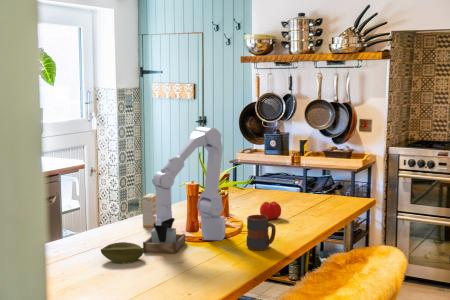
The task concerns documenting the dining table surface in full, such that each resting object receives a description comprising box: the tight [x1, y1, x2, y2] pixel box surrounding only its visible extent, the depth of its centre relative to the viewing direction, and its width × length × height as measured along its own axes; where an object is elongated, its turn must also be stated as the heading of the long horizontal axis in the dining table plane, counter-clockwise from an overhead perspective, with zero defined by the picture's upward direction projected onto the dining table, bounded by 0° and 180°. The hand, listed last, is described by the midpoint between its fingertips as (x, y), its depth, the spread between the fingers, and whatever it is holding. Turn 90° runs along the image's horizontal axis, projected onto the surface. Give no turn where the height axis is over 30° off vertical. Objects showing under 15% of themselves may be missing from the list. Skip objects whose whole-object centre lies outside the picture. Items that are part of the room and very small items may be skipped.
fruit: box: [100, 241, 145, 264], centre depth 208 cm, size 11×12×7 cm
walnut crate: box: [142, 233, 186, 255], centre depth 223 cm, size 12×13×4 cm
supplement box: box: [141, 193, 156, 228], centre depth 256 cm, size 8×5×13 cm, turn 168°
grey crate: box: [150, 227, 177, 244], centre depth 223 cm, size 8×5×6 cm, turn 78°
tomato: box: [259, 200, 282, 221], centre depth 265 cm, size 9×9×8 cm
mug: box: [246, 214, 277, 251], centre depth 220 cm, size 9×12×12 cm
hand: (164, 239), depth 223 cm, fingers closed on grey crate, 5 cm apart
